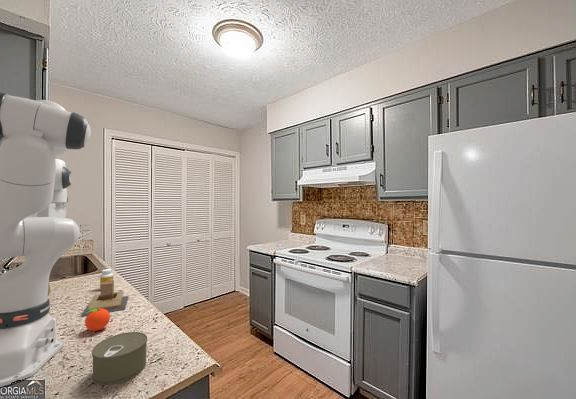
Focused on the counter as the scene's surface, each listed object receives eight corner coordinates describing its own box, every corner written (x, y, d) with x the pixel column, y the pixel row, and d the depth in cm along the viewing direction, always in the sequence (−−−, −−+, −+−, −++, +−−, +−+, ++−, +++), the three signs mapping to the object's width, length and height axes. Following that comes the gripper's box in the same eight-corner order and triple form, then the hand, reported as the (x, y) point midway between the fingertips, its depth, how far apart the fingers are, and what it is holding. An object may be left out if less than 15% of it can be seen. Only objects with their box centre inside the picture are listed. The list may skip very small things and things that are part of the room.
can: (155, 355, 73) (155, 331, 73) (130, 386, 61) (131, 356, 61) (112, 356, 72) (112, 332, 72) (78, 387, 60) (79, 358, 60)
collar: (125, 309, 104) (125, 299, 104) (81, 316, 97) (81, 305, 97) (128, 297, 116) (128, 289, 116) (90, 303, 110) (90, 294, 110)
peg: (112, 304, 106) (112, 283, 106) (100, 306, 104) (100, 284, 104) (113, 301, 109) (113, 280, 109) (102, 303, 108) (102, 281, 108)
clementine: (76, 336, 83) (76, 314, 83) (87, 326, 89) (87, 306, 89) (105, 333, 85) (105, 311, 85) (113, 323, 91) (113, 303, 91)
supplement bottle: (99, 288, 128) (99, 269, 128) (112, 286, 132) (112, 267, 132) (100, 291, 124) (100, 271, 124) (113, 289, 128) (113, 270, 128)
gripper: (53, 198, 97) (53, 234, 97) (69, 198, 116) (69, 229, 115) (31, 198, 94) (30, 235, 94) (51, 198, 113) (51, 230, 113)
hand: (52, 232), depth 105 cm, fingers open, 8 cm apart
